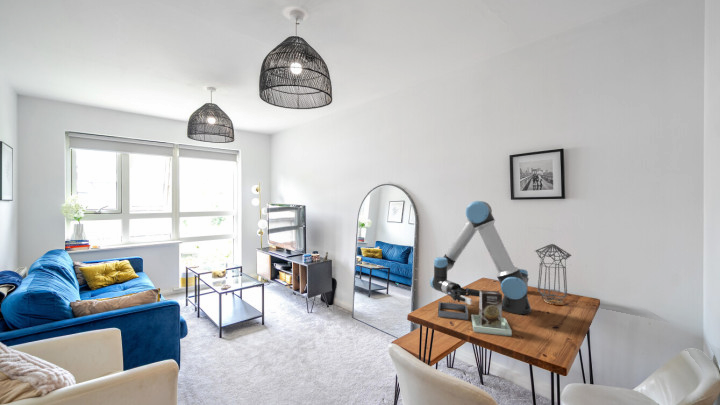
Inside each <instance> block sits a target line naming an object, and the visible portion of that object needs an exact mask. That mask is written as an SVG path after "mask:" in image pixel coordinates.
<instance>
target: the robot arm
mask: <svg viewBox="0 0 720 405" xmlns="http://www.w3.org/2000/svg"><path fill="white" fill-rule="evenodd" d="M465 215H466V218H467V219H466V220H467V221H466V222H465V224H464V225H463V227H462V228H461V230H460V231H459V233H458V235H457V236H456V238H455V239H454V241H453V242H452V243H451V245H449V246H450V247H449V248H448V249H447V251H446V253H445V254H444V255H443V256H442V257H441V256H438V257H435V258H434V259H433V260H434V262H433V270H434V271H433V276H432V277H431V278H430V281H429V284H430V287H431V288H432V289H434V291H435V290H436V291H438V292H441V293H443V294H445V295H447V296H450V297H451V299H452V300H453V301H454V302H455V301H457V302H458V303H460V302H463V303H465V304H466V305H472V298H471V297H477V298H478V297H479V298H480V290H479V289H472V288H469V287H465V288H463V287H462V286H461V285H460V284H459V283H458V282H457V283H456V282H453V281H452V280H448V271H449V270H452V268H454V266H455V263H456V262H457V261H458V259H459V257H460V256H461V255H462V253H463V252H464V251H465V249H466V247H467V246H468V244H469V243H470V241H471V240H472V239H473V237H474V235H475V234H476V233H477V231H478V233H479V236H480V238H481V240H482V241H483V243H484V246H485V248H486V250H487V252H488V254H489V256H490V258H491V260H492V262H493V264H494V266H495V268H496V271H497V273H496V277H497V279H498V282H499V284H500V290H501V292H502V311H505V312H507V313H511V314H517V315H528V314H531V312H532V307H531V304H530V302H529V298H528V290H529V289H528V285H529V284H528V282H529V279H528V278H529V273H528V270H527V269H523V268H518V267H516V266H515V265H514V263H513V261H512V259H511V257H510V255H509V253H508V251H507V248H506V247H505V244H504V242H503V240H502V238H501V236H500V234H499V232H498V230H497V229H496V227H495V222H496V219H495V217H494V215H493V214H492V207H491V205H490V204H489V203H488V202H486V201H482V200H475V201H472V202H470V203H469V204H468V205H467V207H466V209H465ZM469 296H470V298H469Z"/></svg>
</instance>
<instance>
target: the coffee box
mask: <svg viewBox="0 0 720 405" xmlns="http://www.w3.org/2000/svg"><path fill="white" fill-rule="evenodd" d="M479 291H480V297H479V298H478V299H479V301H478V302H479V303H478V304H479V305H478V307H479V309H478V315H479V323H480V325H481V327H490V328H500V329H501V319H502V318H503V317H502V314H503V313H502V312H503V309H502V299H503V293H501V292H500V291H498V290H486V289H485V290H483V289H480V290H479Z"/></svg>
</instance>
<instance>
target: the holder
mask: <svg viewBox="0 0 720 405" xmlns="http://www.w3.org/2000/svg"><path fill="white" fill-rule="evenodd" d="M441 309H446V310H447V311H446V310H441ZM449 310H455V311H449ZM456 310H457V311H456ZM458 311H464V312H458ZM437 317H439V318H448V319H457V320H465V321H469V310H468V304H463V303H453V302H451V303H450V302H441V301H438V309H437Z"/></svg>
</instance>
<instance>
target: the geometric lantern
mask: <svg viewBox="0 0 720 405" xmlns="http://www.w3.org/2000/svg"><path fill="white" fill-rule="evenodd" d="M534 252H535V253H537V255H538V258H540V260H541V261H540V262H539V270H538V280H537V282H538V283H537V292H538V293H539V294H540V295H541V299H542V298H543V299H544V298H545V299H547V301H548V300H549V301H550V300H557V298H558V299H559V300H560V301H561V300H562V301H563V299H564V298H567V297H568V286H567V285H568V284H567V268H566V265H567V264H566V260H568V259H569V258H571V257H572V254H571V253H569V252H567V251H566V250H564V249H563V248H561V247H559V246H558V245H556V244H554V243H549V244H547V245H545V246H543V247H541V248H538V249H535V250H534ZM551 253H552V254H551ZM556 253H557V255H555V254H556ZM542 255H543V256H542ZM546 257H548V258H551V259H552V260H553V262H552V263H550V262H548V263H545V258H546ZM556 258H559V259H556ZM562 260H564V264H563V263H562ZM556 261H557V262H558V263H557V262H556ZM548 265H549V266H548ZM552 265H554V266H552ZM543 267H545V272H544V285H543V286H544V288H543V289H542V288H541V284H542V283H541V282H542V274H543ZM547 268H548V288H546V284H547V281H546V280H547ZM552 268H554V283H553V286H554V287H553V289H552V291H553V293H552V294H551V289H550V288H551V287H550V286H551V284H550V282H551V281H550V279H551V277H550V274H551V273H550V270H551V269H552ZM560 269H562V273H563V276H562V277H563V289H564V291H563V292H564V293H563V292H562V291H561V290H560V288H561V287H560V286H561V285H560V283H561V282H560ZM557 270H558V271H557ZM557 273H558V274H557ZM556 275H558V277H556ZM556 278H558V290H557V289H556ZM542 291H543V292H542ZM546 291H548V294H547V293H546ZM555 292H556V293H555ZM554 293H555V294H554ZM558 293H561V294H562V295H558ZM556 297H557V298H556Z"/></svg>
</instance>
